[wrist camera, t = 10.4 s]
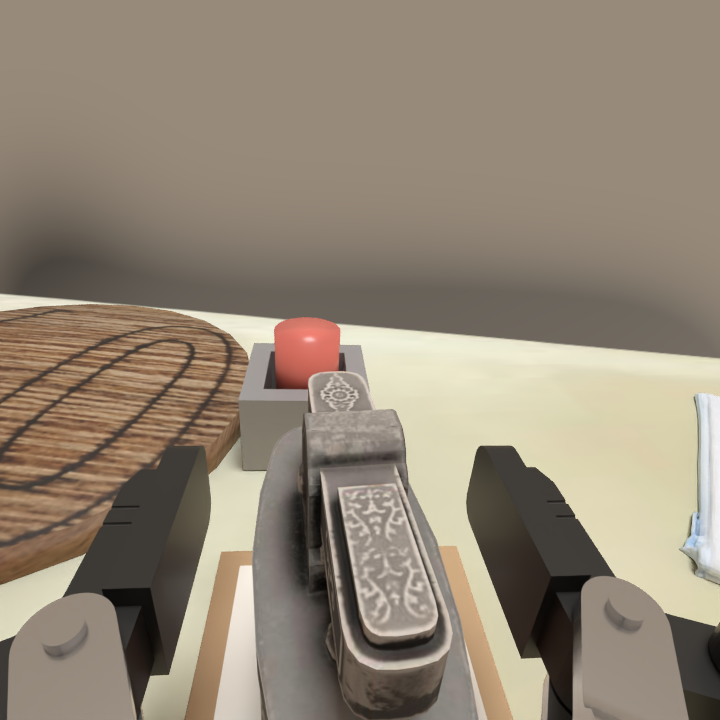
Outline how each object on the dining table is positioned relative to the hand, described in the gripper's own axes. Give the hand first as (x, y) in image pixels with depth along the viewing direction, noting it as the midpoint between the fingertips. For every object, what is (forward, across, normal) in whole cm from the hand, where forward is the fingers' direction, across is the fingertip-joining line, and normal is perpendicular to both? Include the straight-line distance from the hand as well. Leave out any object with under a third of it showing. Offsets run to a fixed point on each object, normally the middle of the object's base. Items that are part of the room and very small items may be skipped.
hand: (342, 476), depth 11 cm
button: (+13, +1, +6) cm, 14 cm away
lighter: (-2, 0, +7) cm, 8 cm away
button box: (+13, +1, +8) cm, 15 cm away
